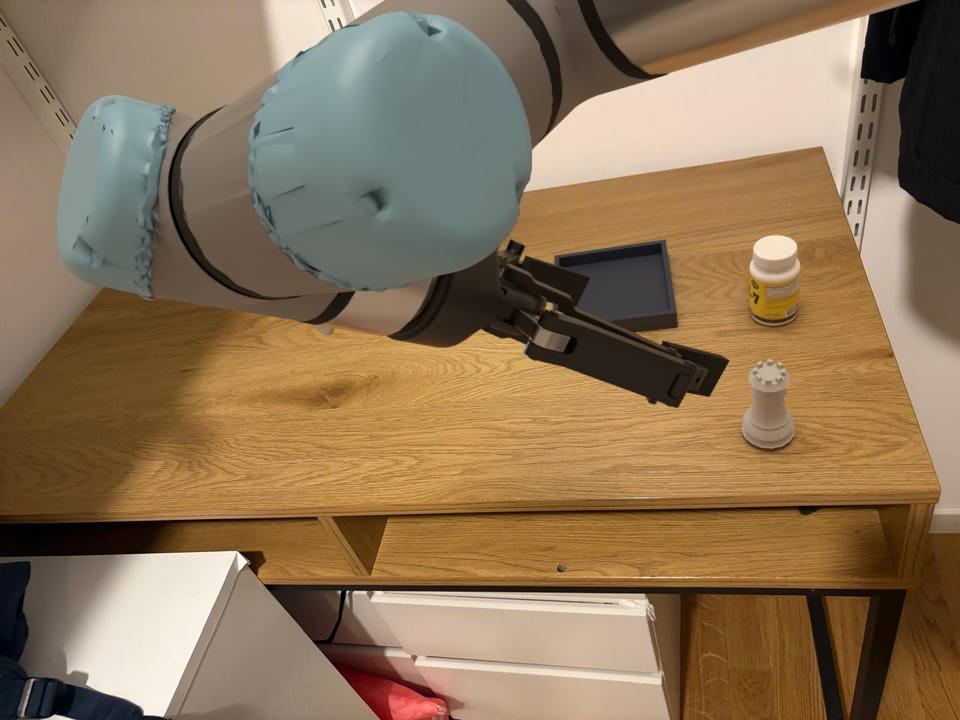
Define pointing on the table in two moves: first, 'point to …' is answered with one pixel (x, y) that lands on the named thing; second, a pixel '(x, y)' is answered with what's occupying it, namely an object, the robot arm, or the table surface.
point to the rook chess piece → (768, 407)
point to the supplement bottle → (774, 281)
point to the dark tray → (626, 285)
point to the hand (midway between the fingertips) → (641, 330)
